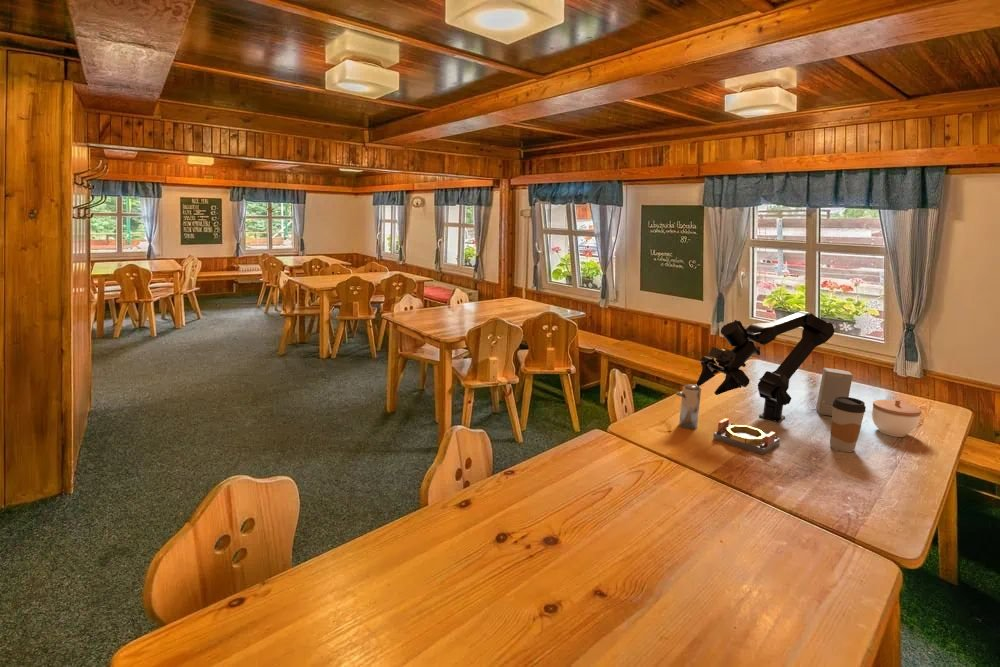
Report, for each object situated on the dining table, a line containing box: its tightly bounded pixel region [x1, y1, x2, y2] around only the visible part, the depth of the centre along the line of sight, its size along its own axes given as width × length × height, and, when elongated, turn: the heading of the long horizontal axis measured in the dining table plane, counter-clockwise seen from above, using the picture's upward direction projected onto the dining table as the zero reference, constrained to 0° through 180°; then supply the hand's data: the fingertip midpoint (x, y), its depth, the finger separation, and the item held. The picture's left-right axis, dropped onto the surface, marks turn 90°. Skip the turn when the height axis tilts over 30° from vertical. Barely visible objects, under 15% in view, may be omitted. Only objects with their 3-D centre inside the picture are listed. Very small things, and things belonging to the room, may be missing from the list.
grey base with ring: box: [712, 417, 781, 456], centre depth 163 cm, size 12×15×5 cm
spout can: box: [675, 383, 702, 430], centre depth 174 cm, size 8×6×14 cm, turn 106°
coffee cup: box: [829, 397, 867, 453], centre depth 159 cm, size 8×8×15 cm
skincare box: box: [815, 367, 854, 417], centre depth 188 cm, size 8×7×16 cm
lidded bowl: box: [871, 399, 922, 438], centre depth 173 cm, size 13×13×11 cm
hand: (706, 389), depth 174 cm, fingers open, 9 cm apart
